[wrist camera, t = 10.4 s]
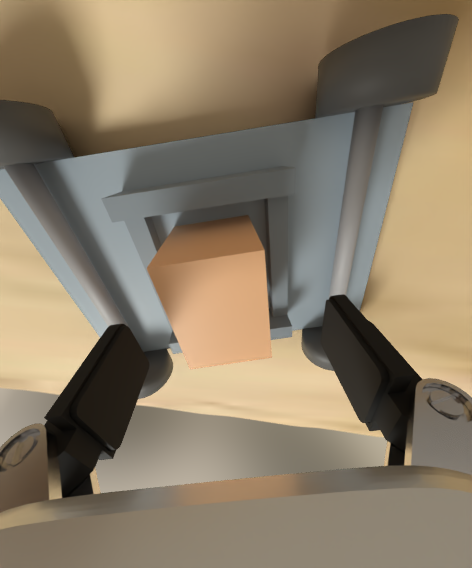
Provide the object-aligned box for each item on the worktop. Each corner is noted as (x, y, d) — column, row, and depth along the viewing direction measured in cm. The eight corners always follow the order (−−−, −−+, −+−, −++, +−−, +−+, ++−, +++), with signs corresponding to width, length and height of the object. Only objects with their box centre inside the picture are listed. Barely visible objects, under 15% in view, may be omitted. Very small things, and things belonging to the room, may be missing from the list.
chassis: (403, 60, 11) (517, 0, 7) (345, 325, 22) (375, 365, 18) (-21, 131, 11) (-162, 115, 7) (127, 356, 22) (106, 403, 18)
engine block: (248, 214, 13) (264, 249, 8) (256, 298, 17) (271, 357, 12) (174, 226, 14) (146, 268, 8) (199, 307, 17) (189, 369, 12)
